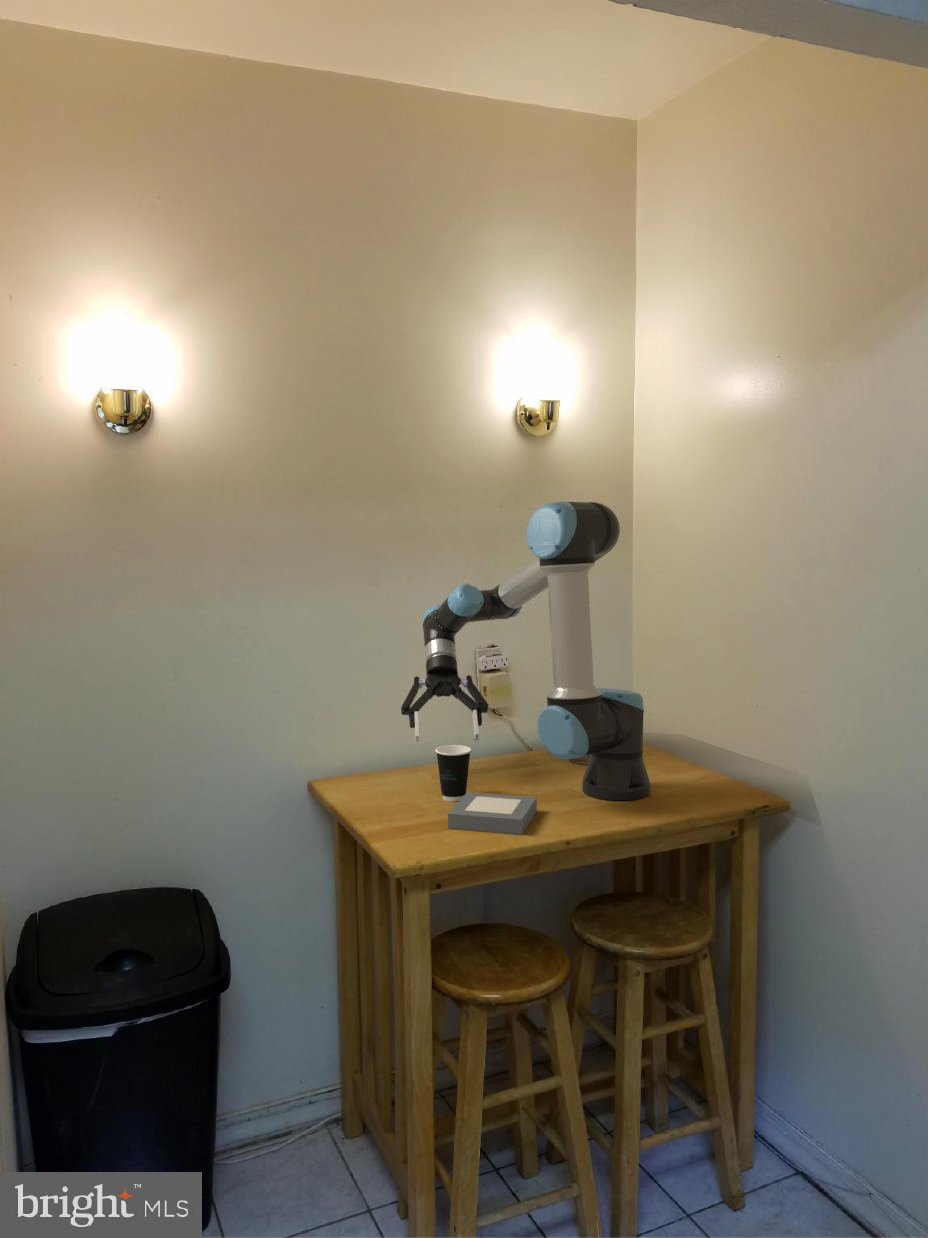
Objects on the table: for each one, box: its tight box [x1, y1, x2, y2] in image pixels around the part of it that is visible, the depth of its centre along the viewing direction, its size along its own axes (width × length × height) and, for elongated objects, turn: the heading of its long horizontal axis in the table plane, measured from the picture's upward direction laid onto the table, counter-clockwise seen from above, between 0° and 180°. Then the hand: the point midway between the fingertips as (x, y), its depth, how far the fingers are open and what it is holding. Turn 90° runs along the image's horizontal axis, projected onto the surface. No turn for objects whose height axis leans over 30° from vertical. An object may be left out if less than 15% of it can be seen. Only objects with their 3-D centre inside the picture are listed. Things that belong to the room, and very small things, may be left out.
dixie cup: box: [435, 744, 472, 802], centre depth 203 cm, size 8×8×11 cm
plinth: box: [447, 791, 538, 836], centre depth 189 cm, size 15×15×3 cm
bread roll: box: [568, 754, 590, 766], centre depth 234 cm, size 10×10×8 cm
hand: (447, 738), depth 210 cm, fingers open, 13 cm apart
